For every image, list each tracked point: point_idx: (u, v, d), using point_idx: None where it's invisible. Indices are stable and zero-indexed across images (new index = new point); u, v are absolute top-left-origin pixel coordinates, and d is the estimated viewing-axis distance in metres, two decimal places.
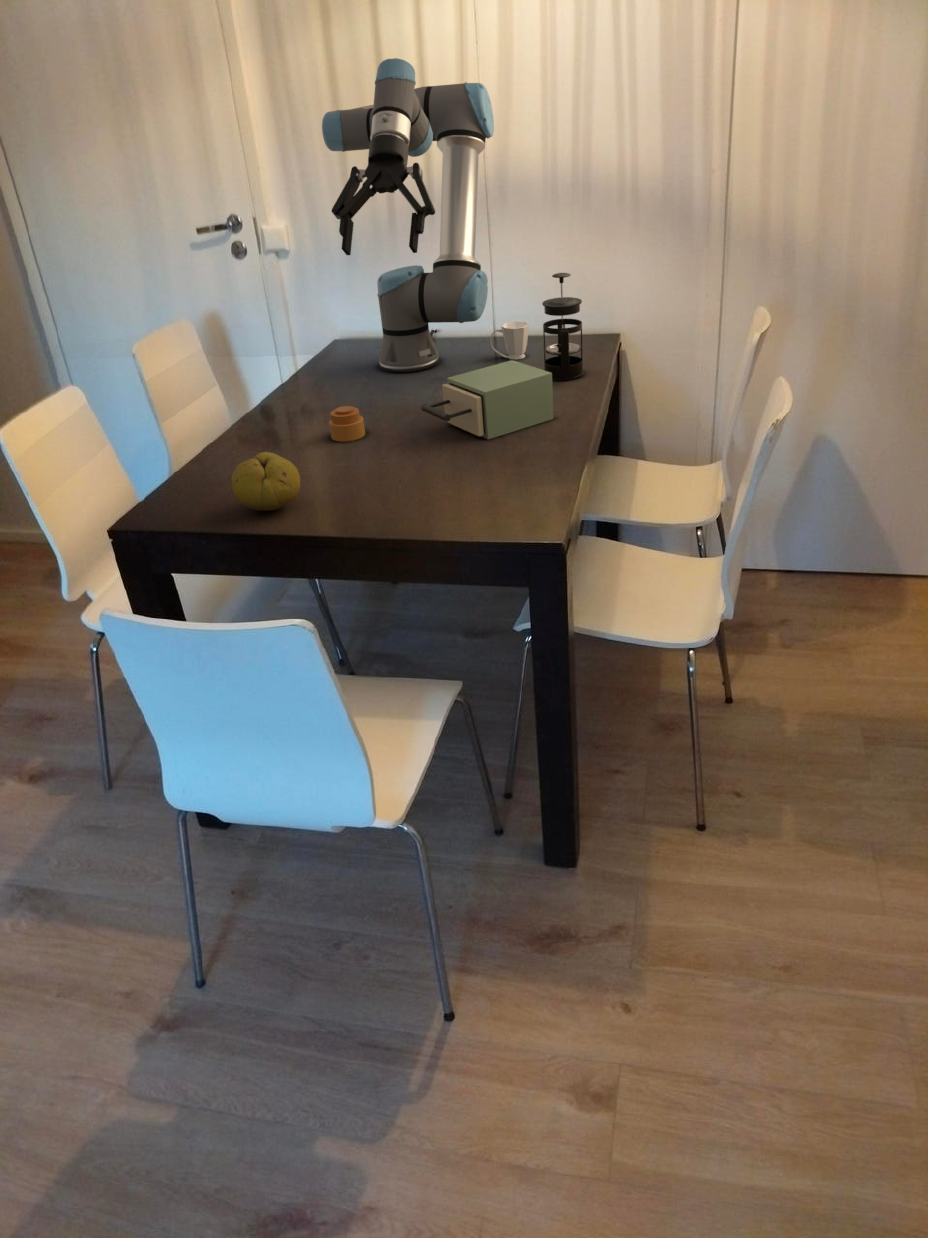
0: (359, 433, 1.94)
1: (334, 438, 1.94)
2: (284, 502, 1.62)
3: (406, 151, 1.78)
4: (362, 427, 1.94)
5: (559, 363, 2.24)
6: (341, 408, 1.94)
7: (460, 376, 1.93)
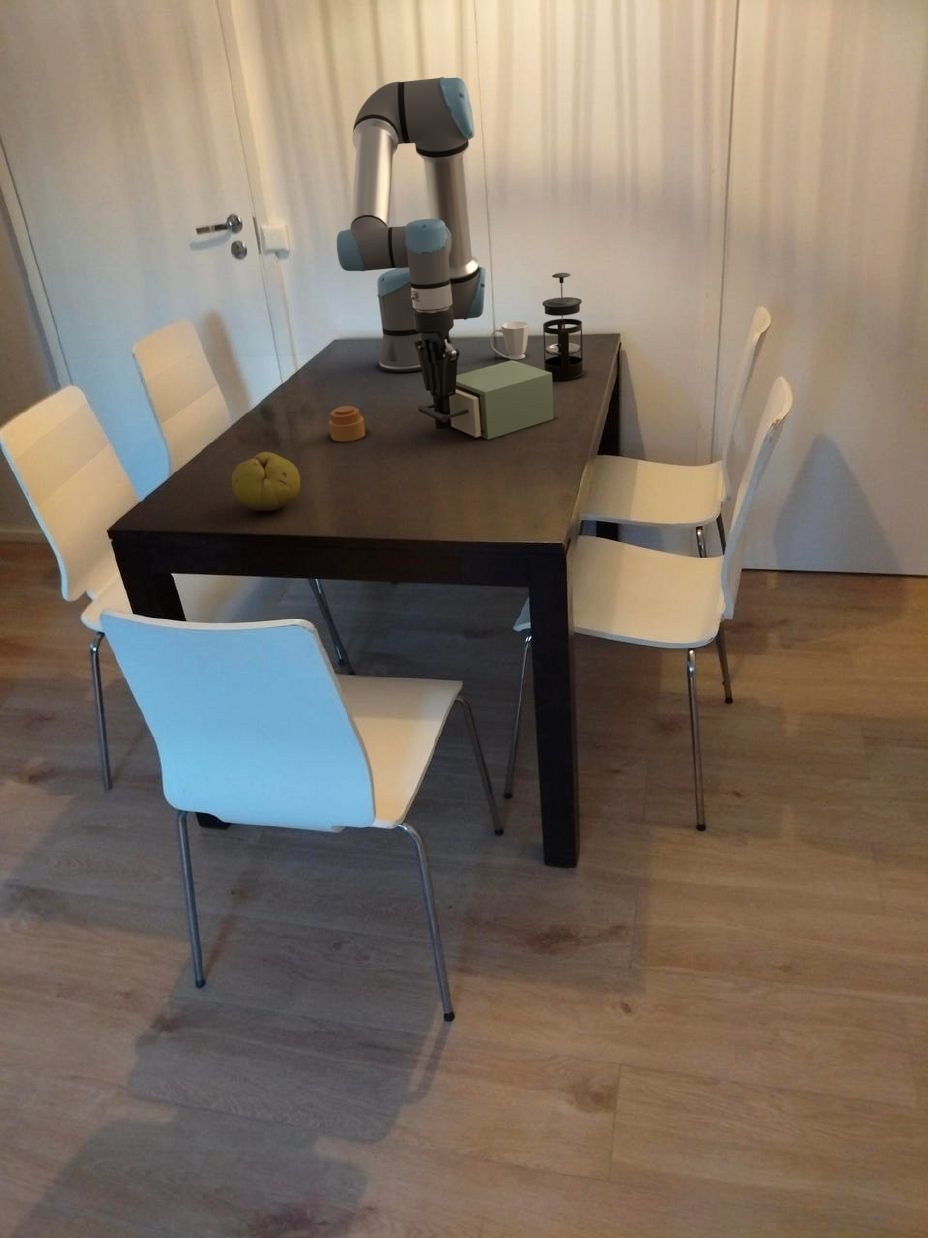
0: (359, 433, 1.94)
1: (334, 438, 1.94)
2: (284, 502, 1.62)
3: (443, 322, 1.75)
4: (362, 427, 1.94)
5: (559, 363, 2.24)
6: (341, 408, 1.94)
7: (460, 376, 1.93)
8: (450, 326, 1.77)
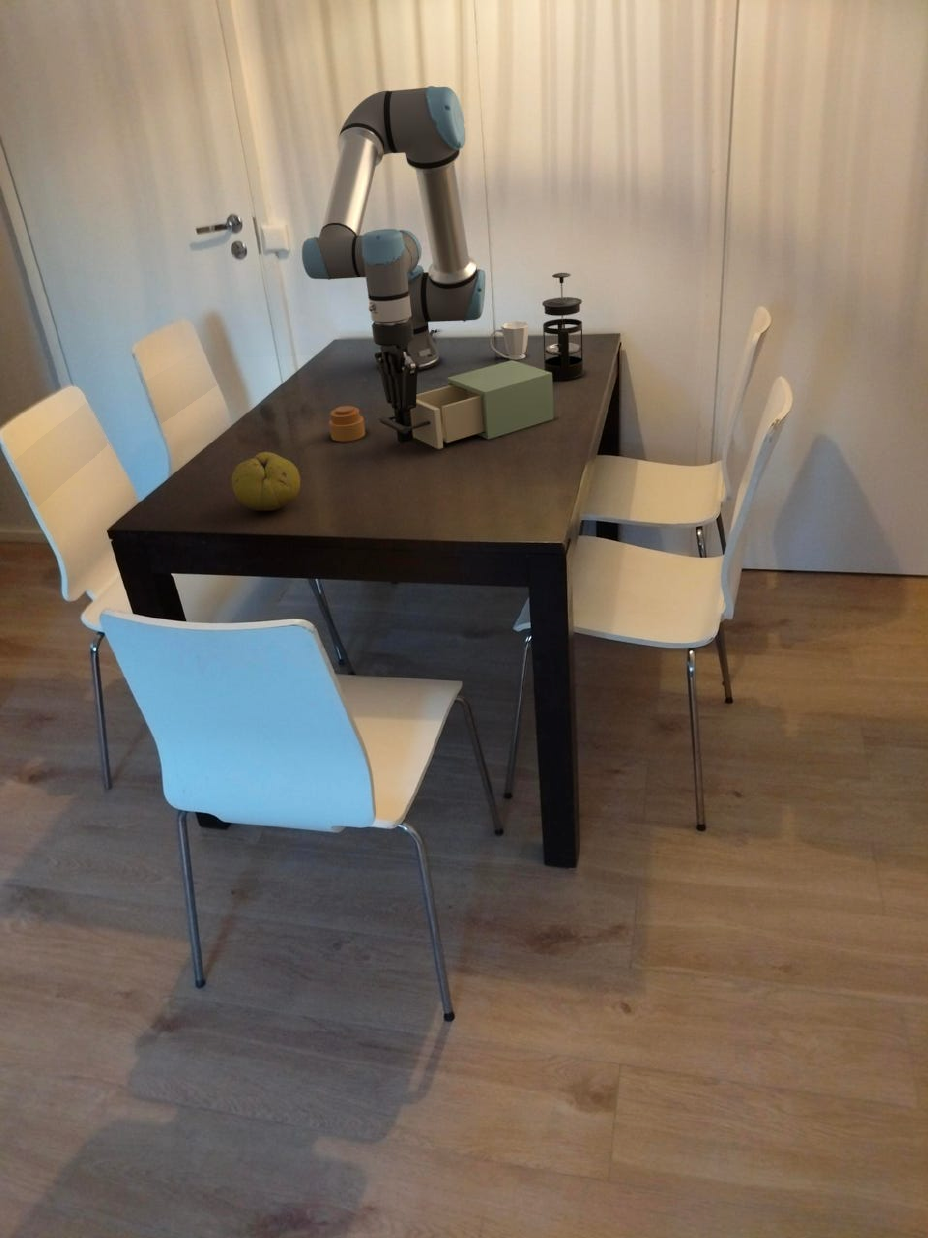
0: (359, 433, 1.94)
1: (334, 438, 1.94)
2: (284, 502, 1.62)
3: (401, 334, 1.71)
4: (362, 427, 1.94)
5: (559, 363, 2.24)
6: (341, 408, 1.94)
7: (460, 376, 1.93)
8: (409, 338, 1.73)
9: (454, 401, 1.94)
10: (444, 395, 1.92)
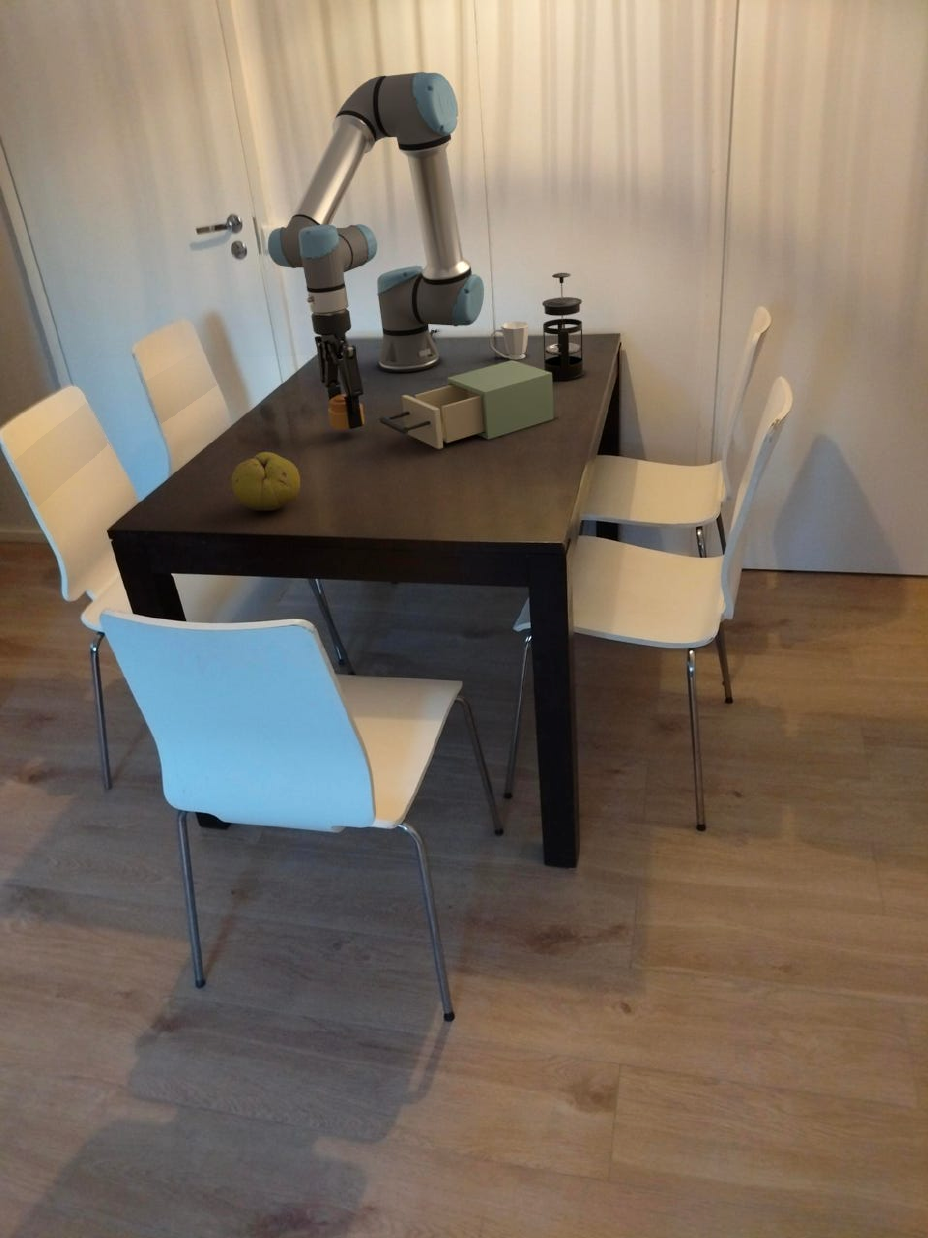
0: None
1: (333, 426, 1.93)
2: (284, 502, 1.62)
3: (338, 324, 1.82)
4: (361, 415, 1.93)
5: (559, 363, 2.24)
6: (340, 396, 1.93)
7: (460, 376, 1.93)
8: (346, 328, 1.83)
9: (454, 401, 1.94)
10: (444, 395, 1.92)
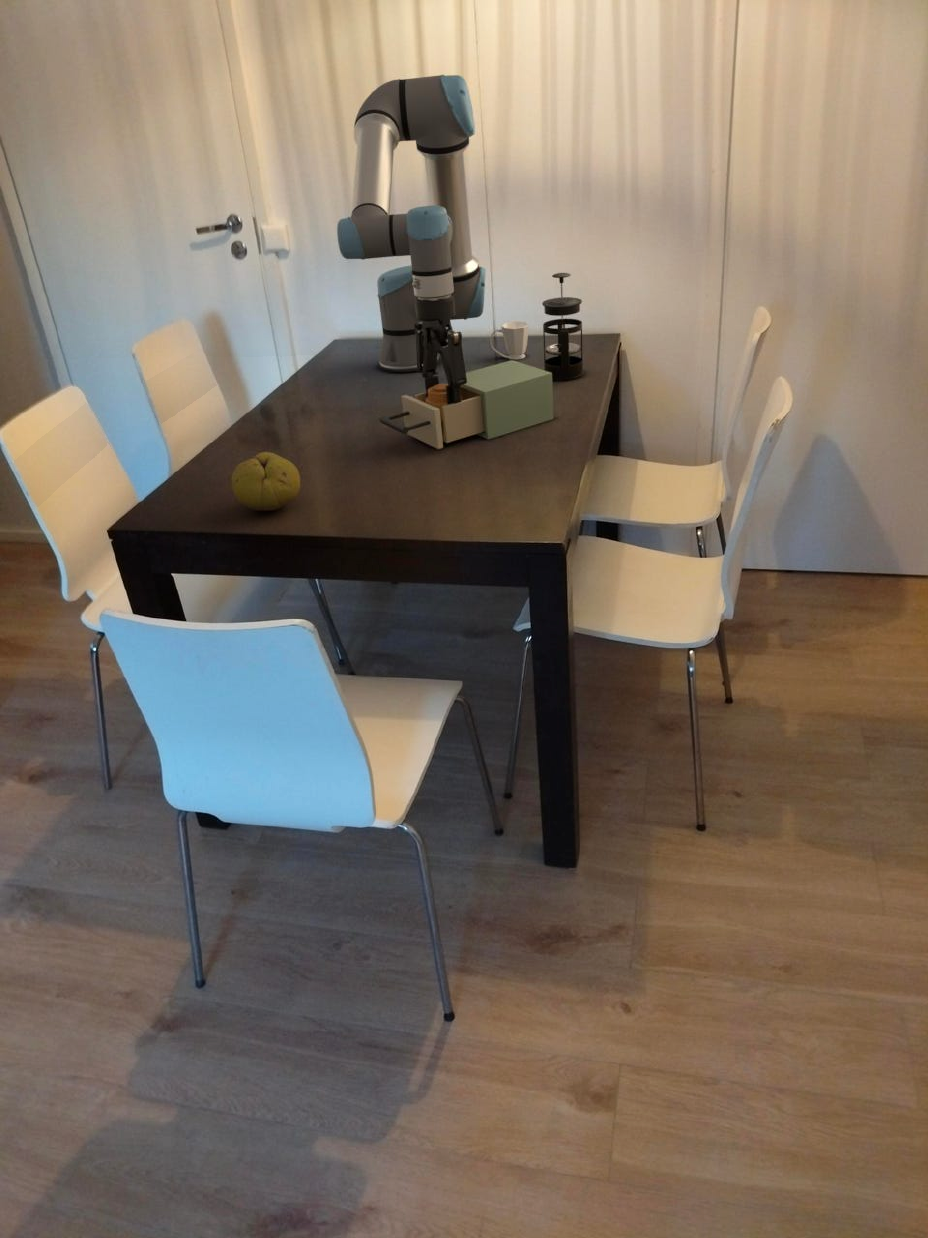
0: None
1: None
2: (284, 502, 1.62)
3: (444, 309, 1.74)
4: None
5: (559, 363, 2.24)
6: (439, 385, 1.85)
7: None
8: (451, 314, 1.76)
9: None
10: None
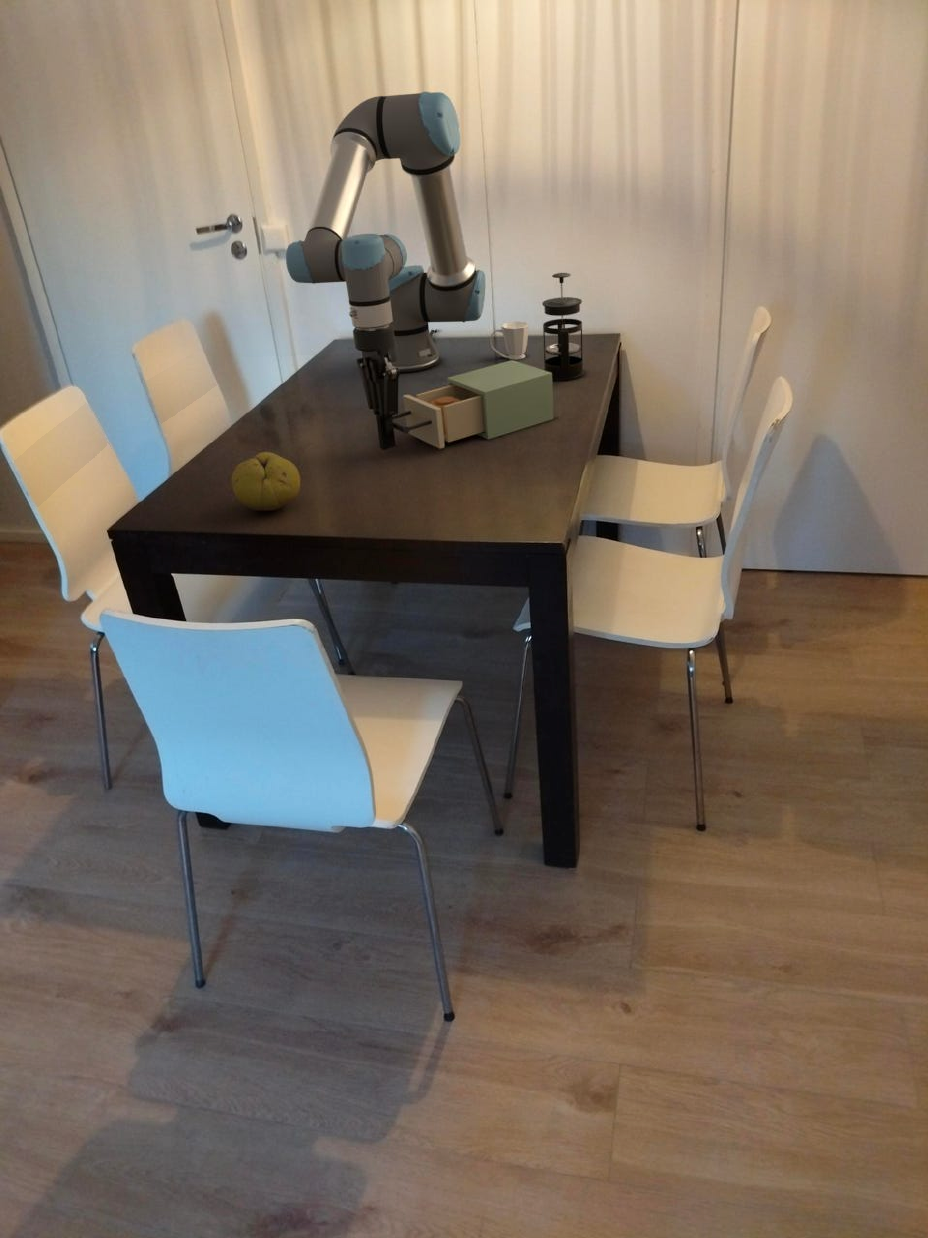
0: None
1: None
2: (284, 502, 1.62)
3: (382, 340, 1.70)
4: None
5: (559, 363, 2.24)
6: (441, 399, 1.87)
7: (460, 376, 1.93)
8: (390, 344, 1.71)
9: None
10: (445, 394, 1.92)
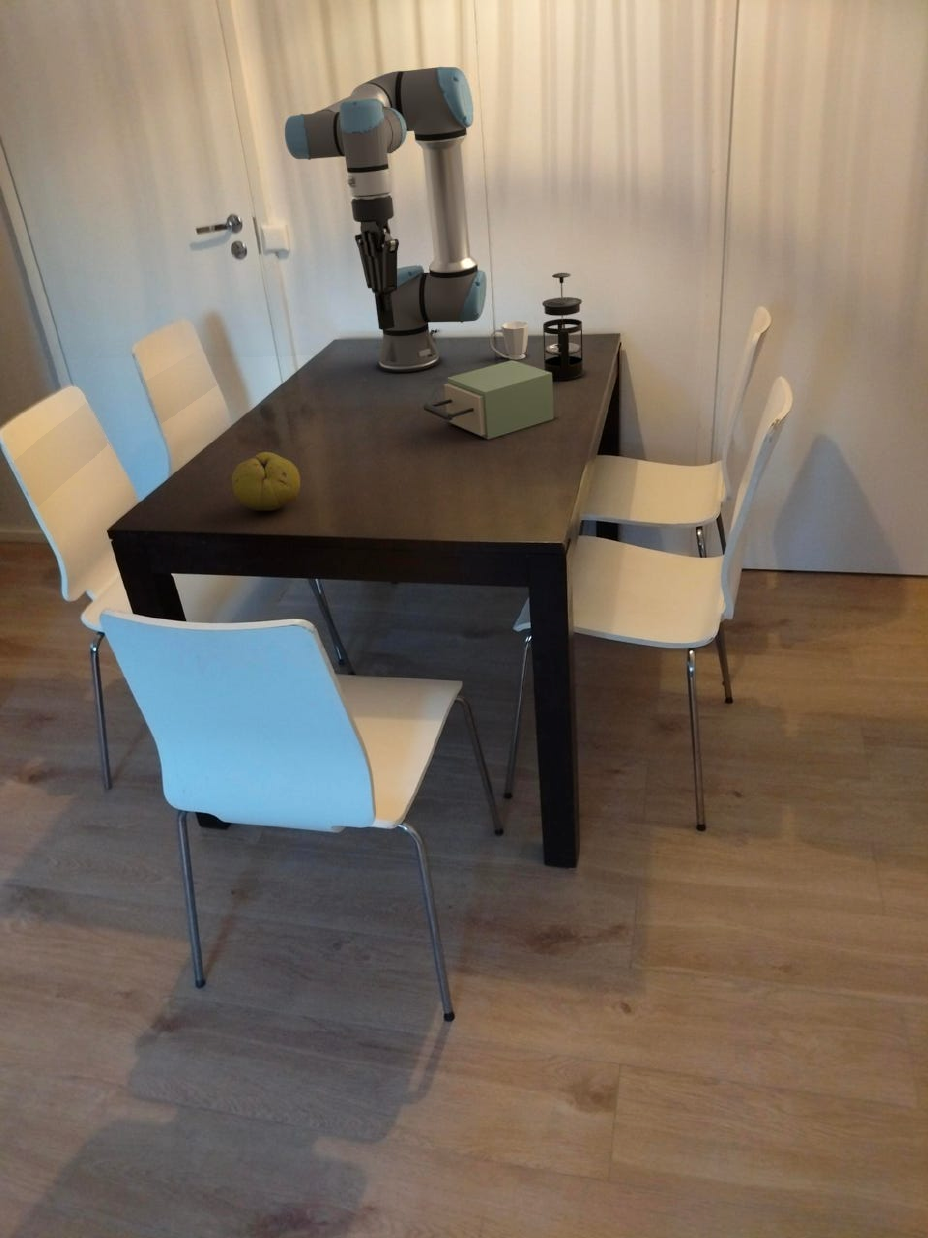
0: None
1: None
2: (284, 502, 1.62)
3: (381, 209, 1.68)
4: None
5: (559, 363, 2.24)
6: None
7: (460, 376, 1.93)
8: (389, 215, 1.69)
9: None
10: None
